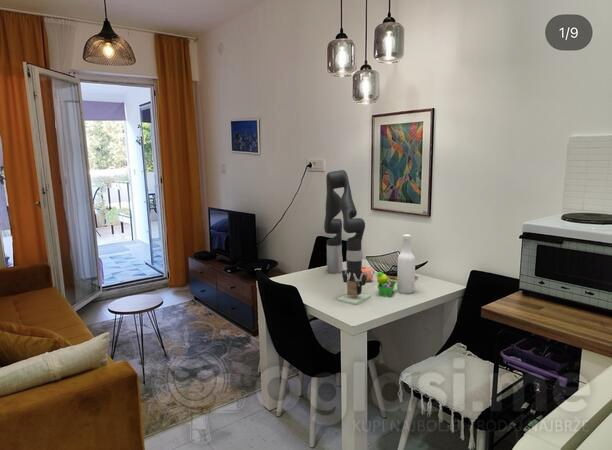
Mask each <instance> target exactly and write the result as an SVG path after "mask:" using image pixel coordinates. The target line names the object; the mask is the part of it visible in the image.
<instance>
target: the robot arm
mask: <svg viewBox="0 0 612 450" xmlns="http://www.w3.org/2000/svg"><path fill="white" fill-rule="evenodd" d="M325 177H326V179H325V181H326V198H325V217H324V225H323V229H324V233H326V234H328V235H334V234H335V235H334V236H333V237H331V238H329V239H327V240H326V272H327V273H329V274H341V276H342V280H343V283H346V284H347V281H348V280H352V279H355V281H356V282H357V285H358V286H357V293H358V294H359V293H362V291H363V290H362V288H363V286H365V285H366V283H367V282H366V279H367V274H364V273H362V270H361V269H362V267H363V253H362V241H363V236H364V232H365V229H366V222H365V220H364V219H363V218H361V217H357V214H358V212H357V208H356V206H355V203H354V200H353V196H352V190H351V185H350V181H349V176H348V174H347V172H346V170H344V169H339V170H334V171H329V172H327V173H326V176H325ZM342 188H343V193H342V194H341V196H340V195H339V194H338V193H337V192H336V191H335V190H336V189H342ZM340 213H342V217H343V218H342V219H343V221H342V219H341V218H336V217H337V216H338V215H339V214H340ZM342 222H343V223H342ZM343 230H344V232H345V233H347V234H355V235H354V236H352V237H348V238H347V240H346V269H343V268H344V267H343V264H344V263H343V250H342V249H343V248H342V247H343V243H342V235H343V233H342V232H343ZM360 276H362V280H361V277H360Z"/></svg>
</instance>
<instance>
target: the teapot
mask: <svg viewBox="0 0 612 450" xmlns="http://www.w3.org/2000/svg"><path fill="white" fill-rule="evenodd" d="M361 270H362V273H364V274H367V279H366V283H369V282H370V283H371V282H372V279H374V274H375V270H374V269H373V268H372V267H370V266H369V267H367V266H365V264H364V265H363V264H362V269H361ZM360 277H361V280H362V276H360Z"/></svg>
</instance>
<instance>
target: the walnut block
mask: <svg viewBox="0 0 612 450" xmlns="http://www.w3.org/2000/svg"><path fill="white" fill-rule="evenodd" d="M357 286H358V285H357V282H356V281H355V279H352V280H348V281H347V283H346V292H347V293H346V294H347V295H352V296H358V295H360V294H361V293H362V292H361V293H359V294H358V293H357Z"/></svg>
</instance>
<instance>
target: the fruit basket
mask: <svg viewBox="0 0 612 450" xmlns="http://www.w3.org/2000/svg"><path fill="white" fill-rule="evenodd" d="M376 277H377V278H376V279H377V283H378V285H377V289H378V292H379V296H381V297H391V296H392V294H393V292H394V289H395V285H396V281H394V280H389V278H388V276H387V275H386V274H384V272H382V271H379V272H377V275H376Z"/></svg>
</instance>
